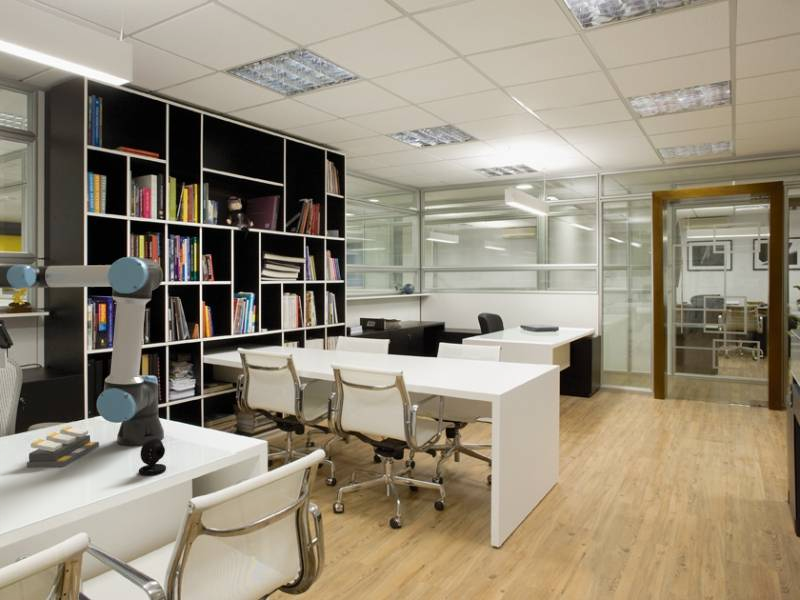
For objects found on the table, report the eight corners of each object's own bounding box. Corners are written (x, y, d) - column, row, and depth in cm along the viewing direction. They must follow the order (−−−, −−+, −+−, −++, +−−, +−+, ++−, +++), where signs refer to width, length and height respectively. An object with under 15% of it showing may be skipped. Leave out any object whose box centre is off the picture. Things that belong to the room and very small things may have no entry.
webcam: (152, 477, 160) (151, 443, 160) (132, 474, 163) (131, 440, 162) (172, 469, 167) (171, 436, 167) (152, 466, 170) (152, 433, 169)
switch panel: (99, 446, 190) (98, 434, 190) (63, 466, 169) (63, 453, 169) (66, 446, 190) (66, 435, 190) (27, 467, 169) (26, 454, 169)
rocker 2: (75, 440, 182) (76, 436, 182) (67, 444, 177) (68, 440, 177) (53, 436, 182) (54, 432, 182) (45, 440, 177) (46, 435, 177)
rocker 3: (87, 433, 190) (88, 430, 190) (80, 437, 185) (81, 433, 185) (67, 429, 189) (68, 426, 189) (59, 433, 185) (60, 429, 185)
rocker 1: (61, 447, 174) (62, 443, 174) (53, 451, 170) (54, 447, 170) (39, 443, 174) (40, 438, 174) (30, 447, 170) (31, 442, 170)
